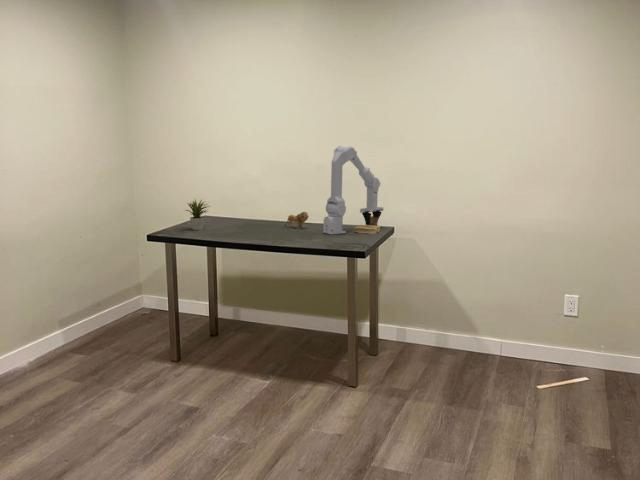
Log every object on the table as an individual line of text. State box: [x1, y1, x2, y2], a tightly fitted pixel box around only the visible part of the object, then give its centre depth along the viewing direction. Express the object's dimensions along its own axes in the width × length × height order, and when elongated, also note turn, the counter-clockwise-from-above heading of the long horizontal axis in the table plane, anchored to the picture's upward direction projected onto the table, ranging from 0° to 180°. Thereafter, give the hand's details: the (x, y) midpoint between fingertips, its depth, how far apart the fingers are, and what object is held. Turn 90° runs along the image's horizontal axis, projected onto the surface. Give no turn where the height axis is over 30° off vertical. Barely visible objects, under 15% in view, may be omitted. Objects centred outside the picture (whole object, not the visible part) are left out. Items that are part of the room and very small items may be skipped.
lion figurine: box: [283, 211, 309, 230], centre depth 321 cm, size 15×5×9 cm, turn 63°
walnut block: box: [370, 215, 379, 226], centre depth 321 cm, size 4×4×6 cm
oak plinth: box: [353, 224, 381, 235], centre depth 310 cm, size 11×11×3 cm
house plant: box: [184, 198, 211, 231], centre depth 312 cm, size 14×14×16 cm
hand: (371, 225), depth 321 cm, fingers closed on walnut block, 4 cm apart
